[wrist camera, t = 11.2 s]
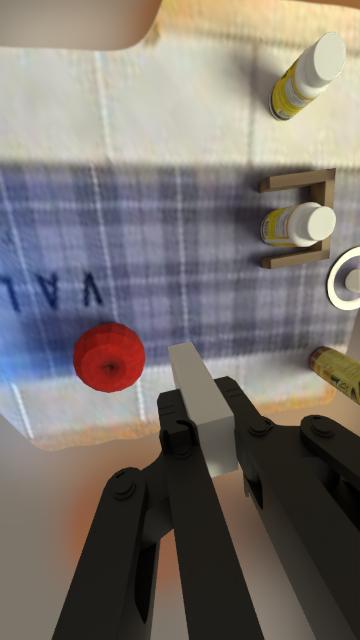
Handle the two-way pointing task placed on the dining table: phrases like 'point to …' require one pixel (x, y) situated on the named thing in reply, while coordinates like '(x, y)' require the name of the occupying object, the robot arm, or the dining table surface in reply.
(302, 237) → the supplement bottle
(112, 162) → the dining table surface
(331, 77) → the supplement bottle
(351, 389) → the sauce bottle
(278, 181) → the pocket
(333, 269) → the candle holder
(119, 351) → the apple
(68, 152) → the dining table surface
